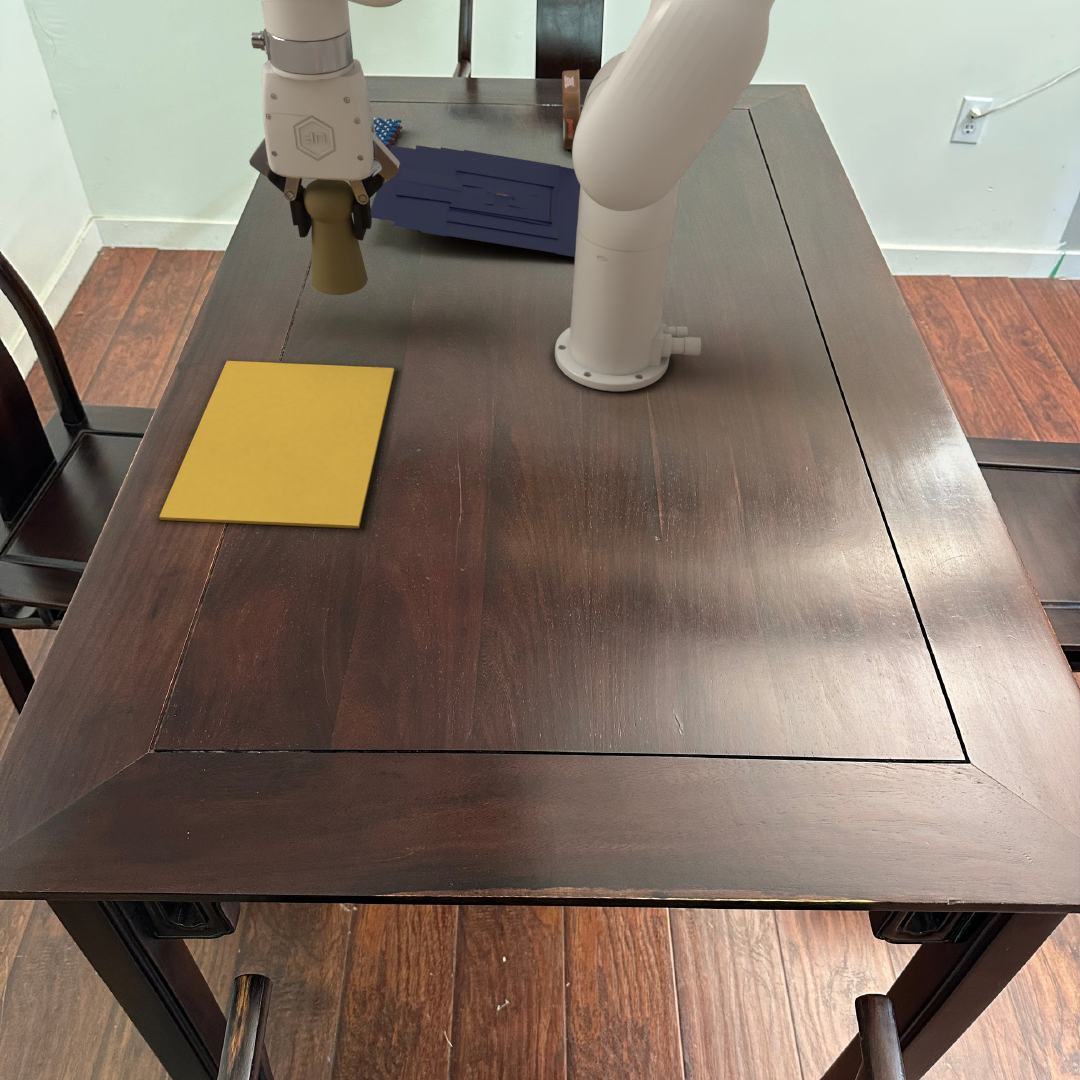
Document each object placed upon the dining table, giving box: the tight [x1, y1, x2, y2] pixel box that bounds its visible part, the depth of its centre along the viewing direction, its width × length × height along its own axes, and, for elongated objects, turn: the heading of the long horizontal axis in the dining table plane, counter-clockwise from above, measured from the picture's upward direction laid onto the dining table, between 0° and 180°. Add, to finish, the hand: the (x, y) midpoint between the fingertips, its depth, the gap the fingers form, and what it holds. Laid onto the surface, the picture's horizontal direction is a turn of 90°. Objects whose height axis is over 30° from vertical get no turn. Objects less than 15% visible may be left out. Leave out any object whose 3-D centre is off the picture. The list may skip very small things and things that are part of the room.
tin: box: [561, 69, 582, 150], centre depth 143 cm, size 15×3×8 cm, turn 179°
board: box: [158, 360, 395, 529], centre depth 95 cm, size 18×24×1 cm
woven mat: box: [373, 117, 403, 150], centre depth 142 cm, size 10×11×2 cm
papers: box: [370, 144, 580, 258], centre depth 128 cm, size 24×30×4 cm
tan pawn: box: [303, 179, 369, 296], centre depth 101 cm, size 6×6×11 cm
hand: (333, 230), depth 101 cm, fingers closed on tan pawn, 5 cm apart
